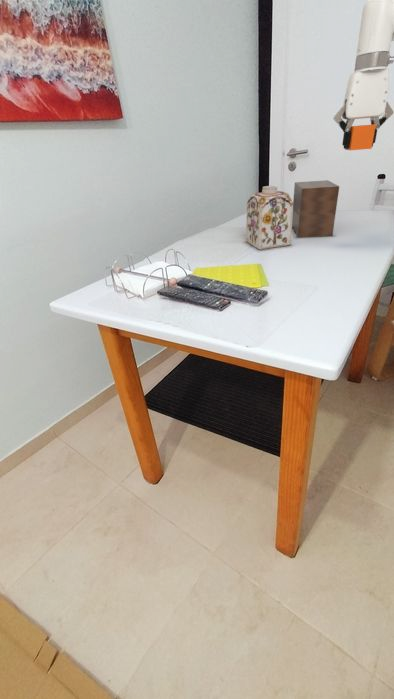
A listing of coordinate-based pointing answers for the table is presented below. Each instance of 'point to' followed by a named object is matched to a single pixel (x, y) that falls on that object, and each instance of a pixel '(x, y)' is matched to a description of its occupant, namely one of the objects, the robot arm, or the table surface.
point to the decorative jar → (269, 218)
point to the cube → (361, 137)
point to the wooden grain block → (314, 208)
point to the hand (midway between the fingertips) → (357, 146)
